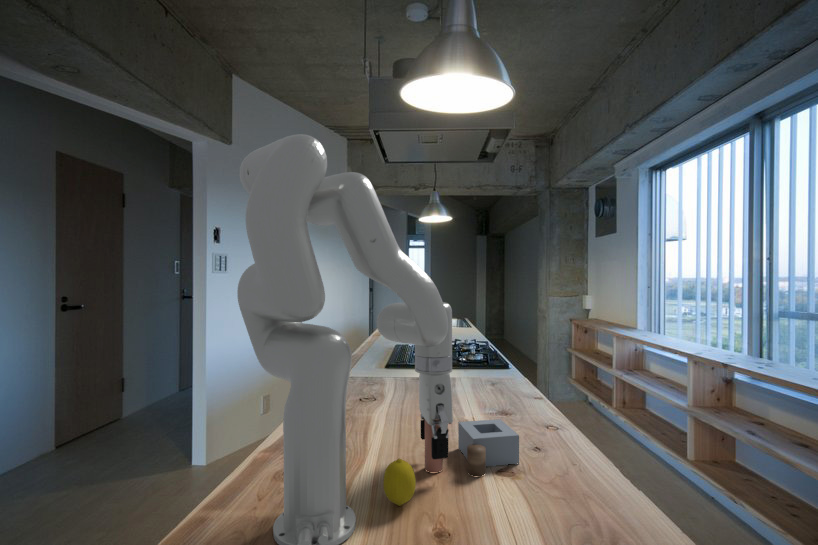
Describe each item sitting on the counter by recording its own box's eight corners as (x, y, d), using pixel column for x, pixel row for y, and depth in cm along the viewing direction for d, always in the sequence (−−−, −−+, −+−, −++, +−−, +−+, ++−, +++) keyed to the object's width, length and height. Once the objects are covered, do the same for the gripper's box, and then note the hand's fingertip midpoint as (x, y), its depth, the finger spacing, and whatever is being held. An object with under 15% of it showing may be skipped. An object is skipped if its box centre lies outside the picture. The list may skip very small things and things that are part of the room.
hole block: (519, 464, 91) (519, 435, 91) (473, 468, 89) (473, 438, 89) (500, 445, 100) (500, 419, 100) (458, 448, 99) (458, 421, 98)
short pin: (488, 476, 85) (488, 450, 85) (470, 478, 85) (470, 452, 85) (481, 468, 89) (481, 443, 89) (464, 469, 88) (464, 445, 88)
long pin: (444, 472, 87) (444, 417, 87) (427, 474, 86) (426, 418, 86) (440, 464, 90) (439, 411, 90) (423, 466, 90) (422, 412, 90)
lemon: (397, 493, 79) (397, 449, 79) (422, 504, 75) (422, 458, 75) (376, 506, 74) (376, 460, 74) (401, 518, 71) (401, 469, 71)
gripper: (464, 372, 80) (464, 465, 80) (440, 354, 97) (440, 431, 97) (424, 374, 79) (425, 468, 79) (407, 355, 96) (407, 433, 96)
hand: (433, 447), depth 88 cm, fingers open, 9 cm apart
